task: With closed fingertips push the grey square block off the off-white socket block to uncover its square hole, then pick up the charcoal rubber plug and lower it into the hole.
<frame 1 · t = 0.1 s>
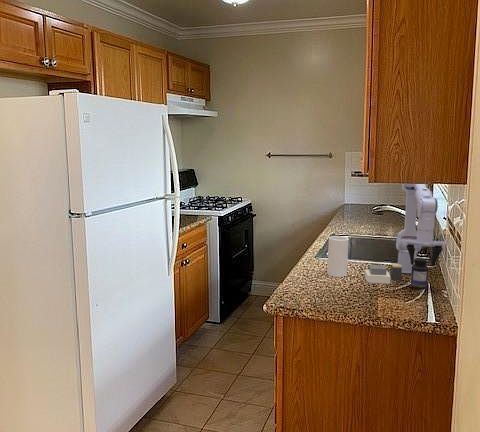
hand: (422, 264, 181), 10 cm above the worktop, fingers open, 7 cm apart
cup: (336, 275, 202), on the worktop
grey square block: (377, 269, 195), point 4 cm above the worktop, slide at 0.0 cm
pill bottle: (418, 287, 187), on the worktop
plug: (395, 279, 197), on the worktop
socket: (377, 280, 195), on the worktop
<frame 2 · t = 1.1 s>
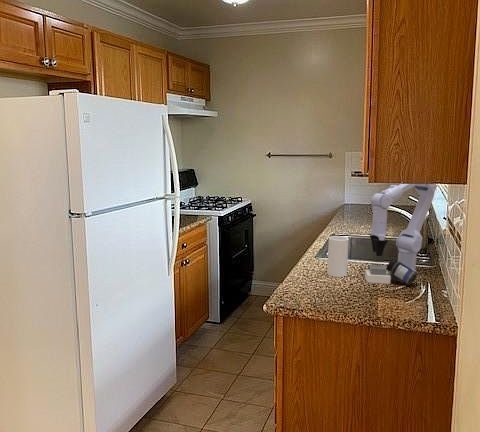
hand: (377, 253, 201), 9 cm above the worktop, fingers open, 7 cm apart
grey square block: (377, 269, 195), point 4 cm above the worktop, slide at 0.0 cm, touching pill bottle
pill bottle: (414, 279, 187), point 3 cm above the worktop, touching grey square block
everything else where it was.
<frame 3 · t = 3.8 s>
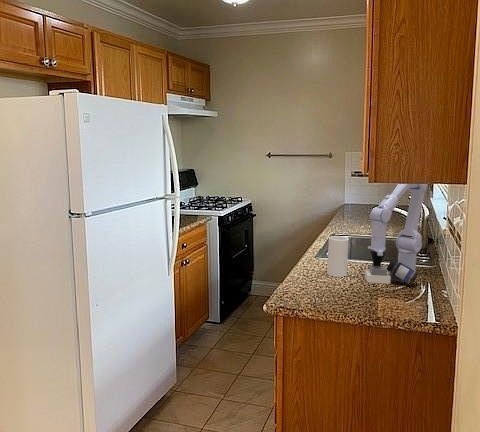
hand: (376, 268, 198), 4 cm above the worktop, fingers closed
grey square block: (378, 270, 194), point 4 cm above the worktop, slide at 0.9 cm, touching gripper
pill bottle: (415, 279, 187), point 3 cm above the worktop
everything else where it was.
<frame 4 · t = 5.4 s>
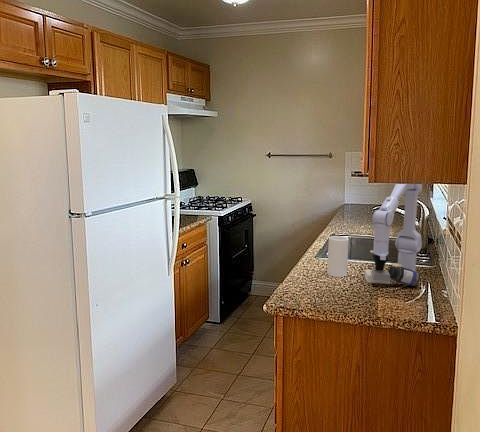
hand: (379, 273, 191), 4 cm above the worktop, fingers closed
grey square block: (380, 275, 187), point 4 cm above the worktop, slide at 8.3 cm, touching gripper, pill bottle
pill bottle: (417, 279, 187), point 3 cm above the worktop, touching grey square block
everything else where it was.
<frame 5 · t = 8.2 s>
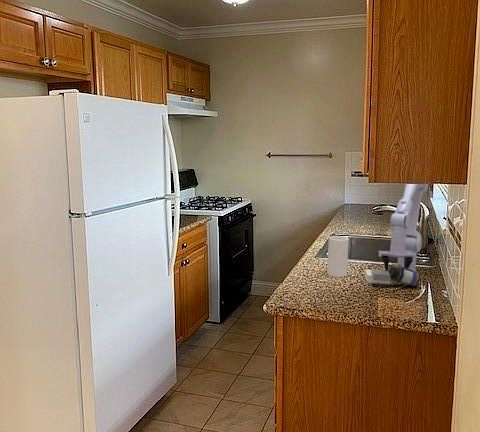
hand: (395, 274, 197), 2 cm above the worktop, fingers open, 7 cm apart
grey square block: (380, 275, 186), point 4 cm above the worktop, slide at 8.4 cm, touching pill bottle
everything else where it was.
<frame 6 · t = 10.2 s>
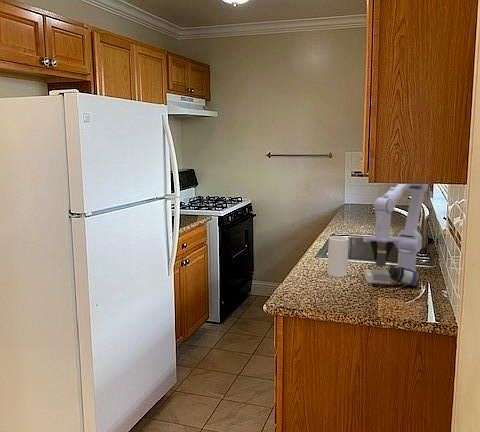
hand: (380, 259, 194), 9 cm above the worktop, fingers closed on plug, 3 cm apart
plug: (380, 264, 194), point 7 cm above the worktop, touching gripper
everything else where it was.
when the fingers open (4 cm above the worktop, at t = 11.6 s): plug drops 2 cm, resting in socket.
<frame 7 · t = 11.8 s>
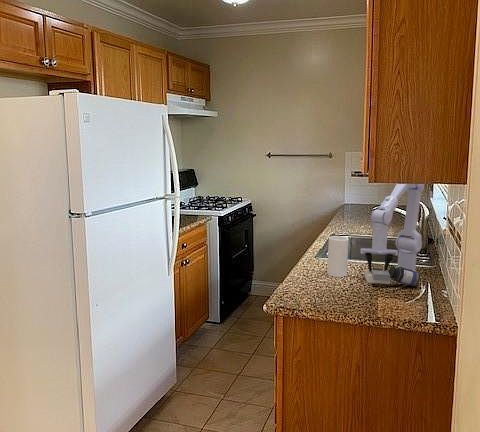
hand: (377, 271, 195), 4 cm above the worktop, fingers open, 5 cm apart
plug: (377, 280, 195), resting in socket
everything else where it was.
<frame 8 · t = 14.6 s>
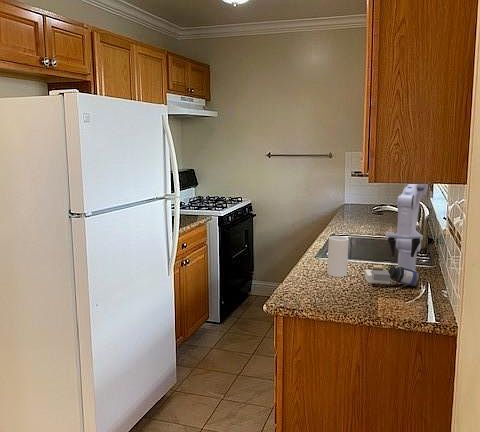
hand: (402, 256, 195), 10 cm above the worktop, fingers open, 7 cm apart
nothing on the worktop moved.
at the end: plug 0.2 cm off-centre on the socket, point 0.0 cm above the socket's base; grey square block slide at 8.4 cm; the gripper is holding nothing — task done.
